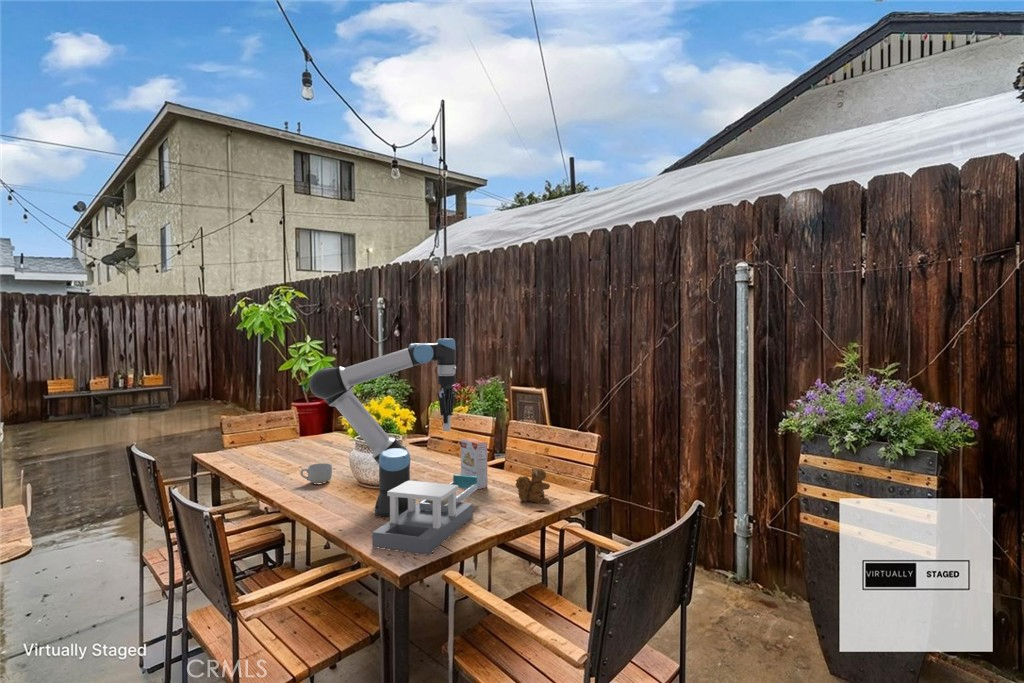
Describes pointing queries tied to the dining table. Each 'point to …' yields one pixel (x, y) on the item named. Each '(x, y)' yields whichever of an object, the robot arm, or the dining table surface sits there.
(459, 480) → the sled
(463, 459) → the cracker box
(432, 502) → the beige rounded lump
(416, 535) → the tunnel track
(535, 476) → the stuffed squirrel
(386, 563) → the dining table surface
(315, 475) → the teacup
